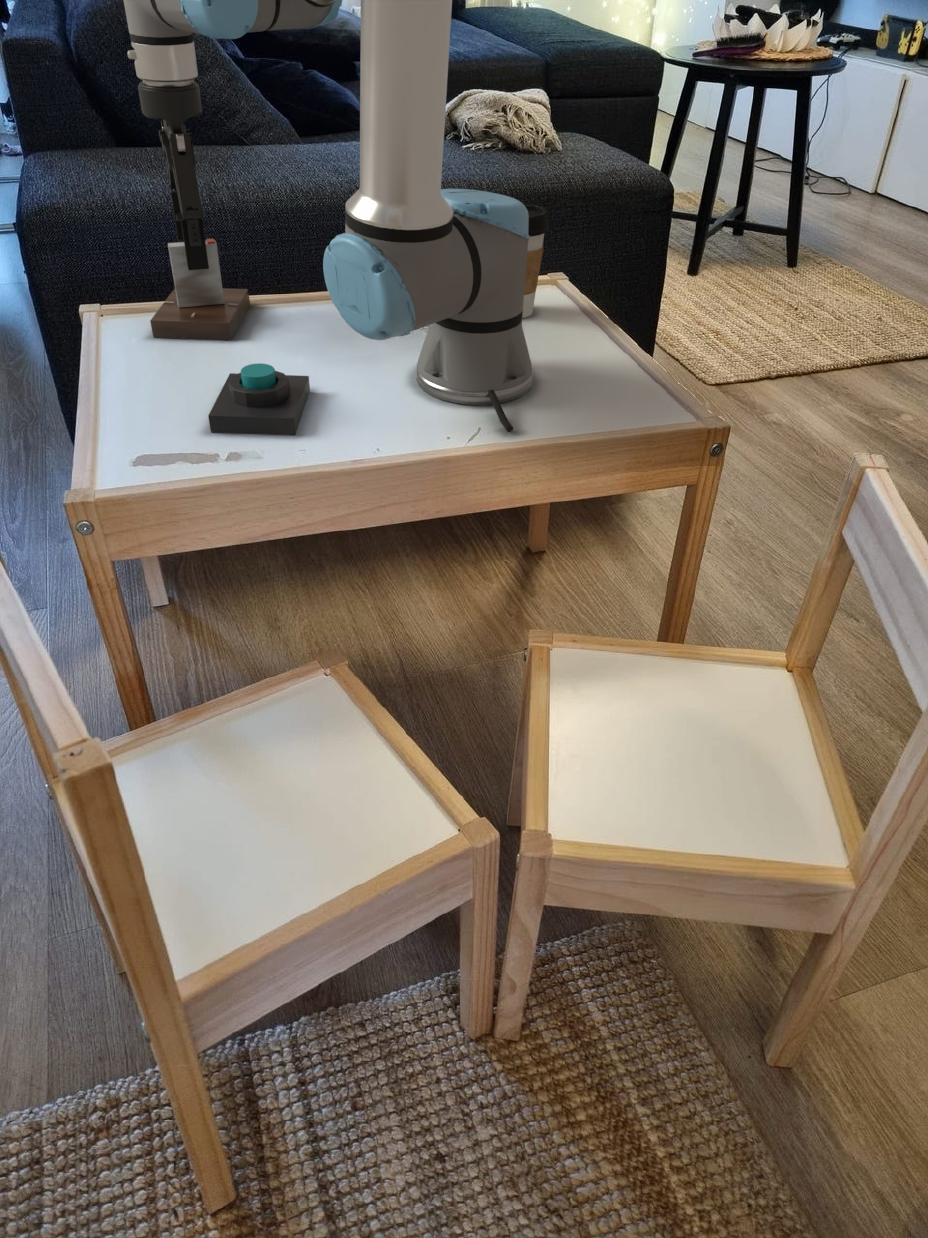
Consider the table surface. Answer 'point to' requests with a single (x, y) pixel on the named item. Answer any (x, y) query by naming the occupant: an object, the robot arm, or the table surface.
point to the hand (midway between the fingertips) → (192, 253)
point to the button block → (260, 406)
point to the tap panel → (201, 318)
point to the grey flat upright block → (196, 277)
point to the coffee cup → (534, 254)
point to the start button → (258, 376)
